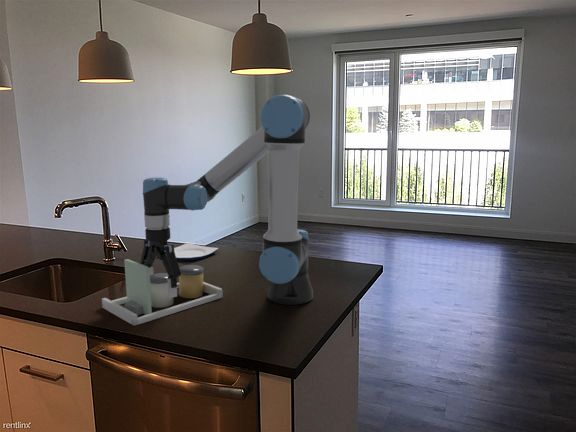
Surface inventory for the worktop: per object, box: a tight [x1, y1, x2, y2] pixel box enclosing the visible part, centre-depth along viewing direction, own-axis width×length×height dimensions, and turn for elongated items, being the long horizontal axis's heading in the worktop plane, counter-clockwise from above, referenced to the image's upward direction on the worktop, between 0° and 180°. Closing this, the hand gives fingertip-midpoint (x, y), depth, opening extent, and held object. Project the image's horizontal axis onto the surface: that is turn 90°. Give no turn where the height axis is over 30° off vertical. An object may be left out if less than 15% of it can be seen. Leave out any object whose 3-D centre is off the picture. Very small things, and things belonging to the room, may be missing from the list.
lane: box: [101, 281, 224, 326], centre depth 155 cm, size 20×32×3 cm, turn 136°
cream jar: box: [150, 272, 175, 309], centre depth 154 cm, size 8×8×9 cm
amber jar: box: [178, 264, 205, 299], centre depth 162 cm, size 8×8×9 cm
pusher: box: [123, 258, 153, 316], centre depth 147 cm, size 13×4×15 cm, turn 46°
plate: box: [174, 242, 220, 262], centre depth 212 cm, size 20×20×3 cm
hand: (161, 292), depth 154 cm, fingers open, 13 cm apart
